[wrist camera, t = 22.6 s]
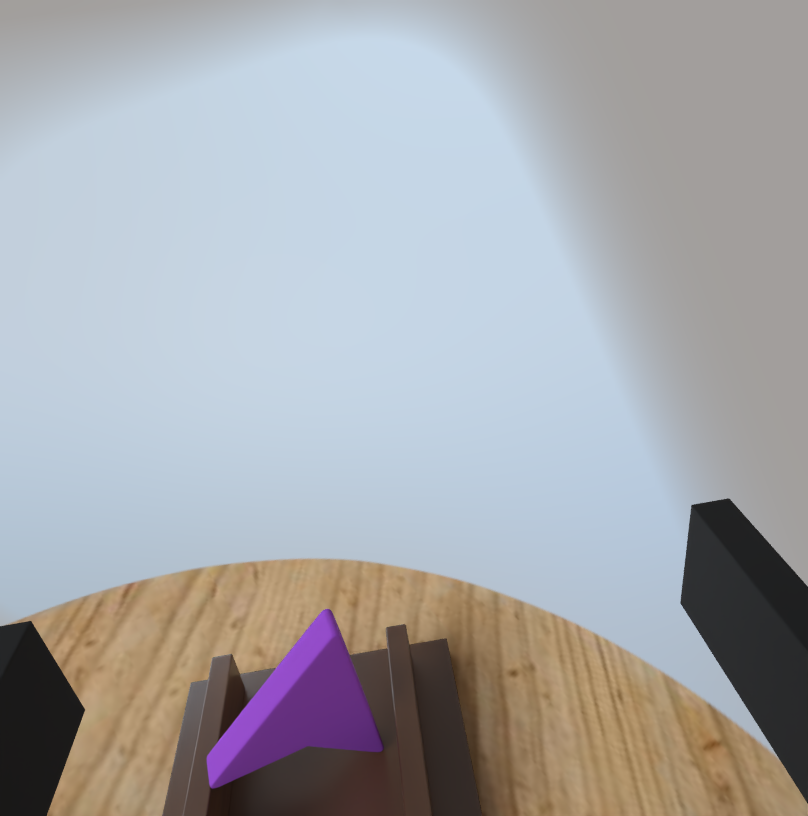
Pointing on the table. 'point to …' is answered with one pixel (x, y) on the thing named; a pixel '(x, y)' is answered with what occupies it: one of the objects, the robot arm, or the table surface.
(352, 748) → the arrowhead
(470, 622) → the table surface
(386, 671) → the rack
